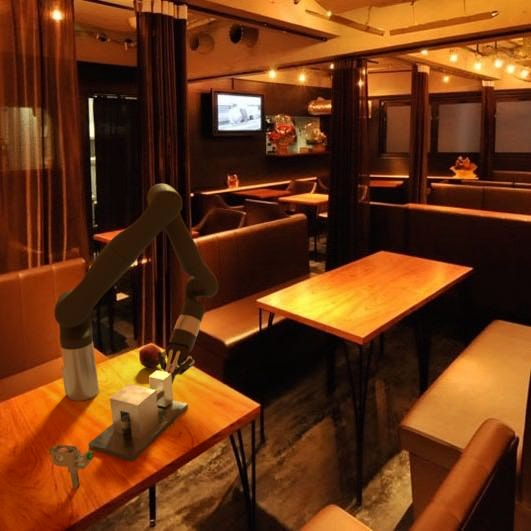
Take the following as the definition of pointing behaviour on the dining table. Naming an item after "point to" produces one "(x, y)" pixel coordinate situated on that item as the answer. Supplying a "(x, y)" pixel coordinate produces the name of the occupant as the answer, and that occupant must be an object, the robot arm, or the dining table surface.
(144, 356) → the fruit
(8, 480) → the dining table surface
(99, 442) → the shaft housing
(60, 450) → the mechanical component
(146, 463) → the dining table surface
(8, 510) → the dining table surface
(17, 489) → the dining table surface
